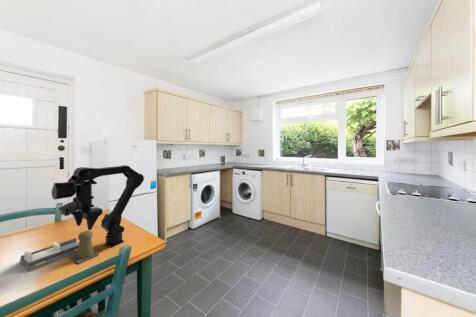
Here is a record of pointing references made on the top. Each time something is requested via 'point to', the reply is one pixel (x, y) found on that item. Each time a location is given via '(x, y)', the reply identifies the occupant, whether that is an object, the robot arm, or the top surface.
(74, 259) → the rubber pad
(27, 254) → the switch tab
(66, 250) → the grey slide rail tray
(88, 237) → the cork
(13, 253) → the top surface
